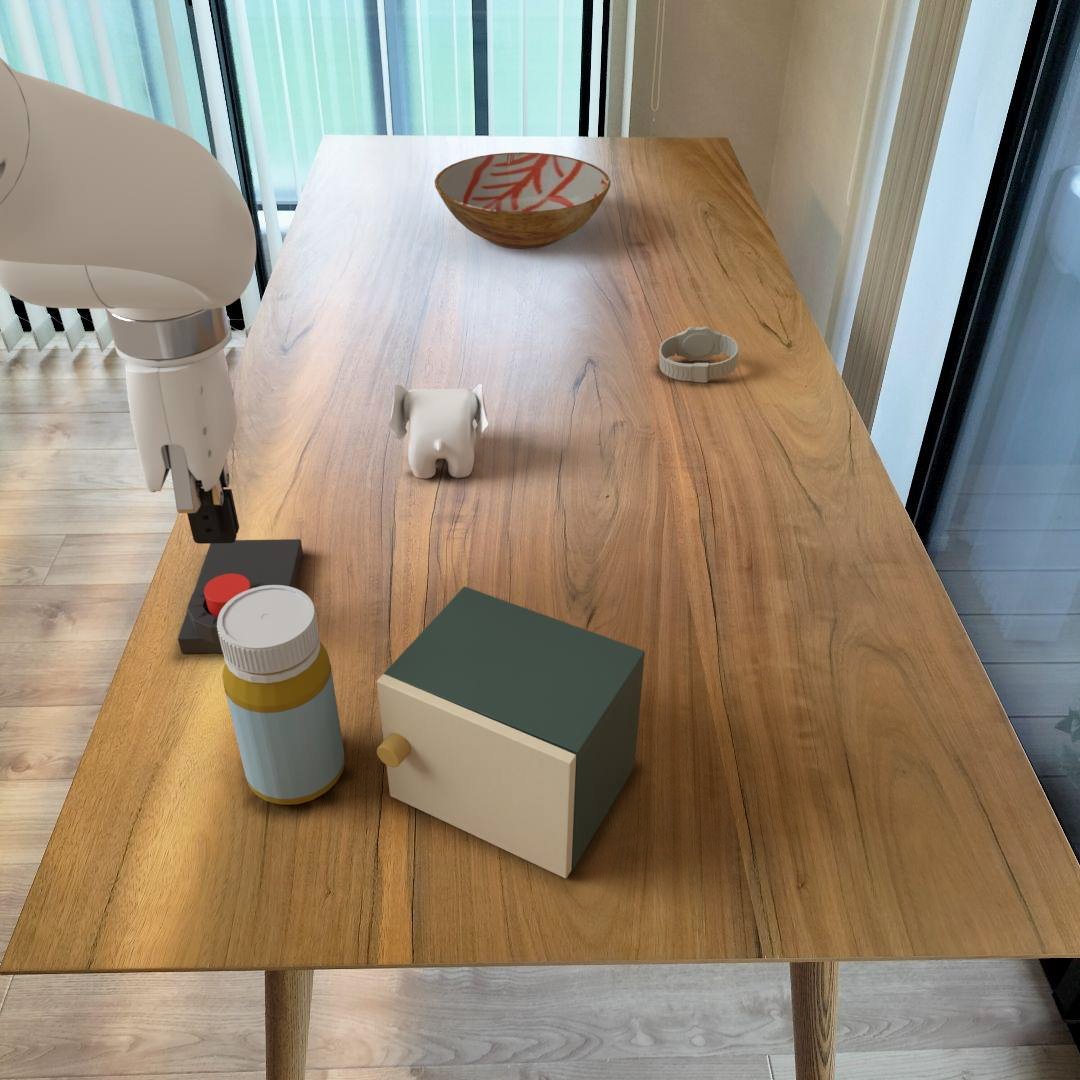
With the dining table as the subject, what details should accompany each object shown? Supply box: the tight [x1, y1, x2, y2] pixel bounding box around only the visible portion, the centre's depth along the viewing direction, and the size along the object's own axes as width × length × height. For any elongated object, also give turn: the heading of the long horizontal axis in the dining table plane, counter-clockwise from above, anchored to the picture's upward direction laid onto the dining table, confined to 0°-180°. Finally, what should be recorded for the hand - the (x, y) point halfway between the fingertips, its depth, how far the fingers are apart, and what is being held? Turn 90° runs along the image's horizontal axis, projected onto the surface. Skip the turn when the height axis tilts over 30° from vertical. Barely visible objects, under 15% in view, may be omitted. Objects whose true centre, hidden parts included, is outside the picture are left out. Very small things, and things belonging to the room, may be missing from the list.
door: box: [376, 673, 576, 880], centre depth 69 cm, size 2×14×11 cm, turn 61°
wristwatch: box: [658, 326, 739, 384], centre depth 124 cm, size 9×6×5 cm
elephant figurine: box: [388, 383, 489, 479], centre depth 108 cm, size 10×12×9 cm
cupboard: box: [383, 585, 646, 871], centre depth 74 cm, size 10×14×12 cm
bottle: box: [217, 585, 346, 806], centre depth 73 cm, size 7×7×15 cm
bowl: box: [434, 151, 611, 250], centre depth 156 cm, size 25×25×8 cm
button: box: [204, 574, 251, 617], centre depth 87 cm, size 4×4×2 cm
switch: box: [177, 538, 304, 655], centre depth 91 cm, size 14×8×4 cm, turn 2°
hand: (217, 536), depth 84 cm, fingers closed
